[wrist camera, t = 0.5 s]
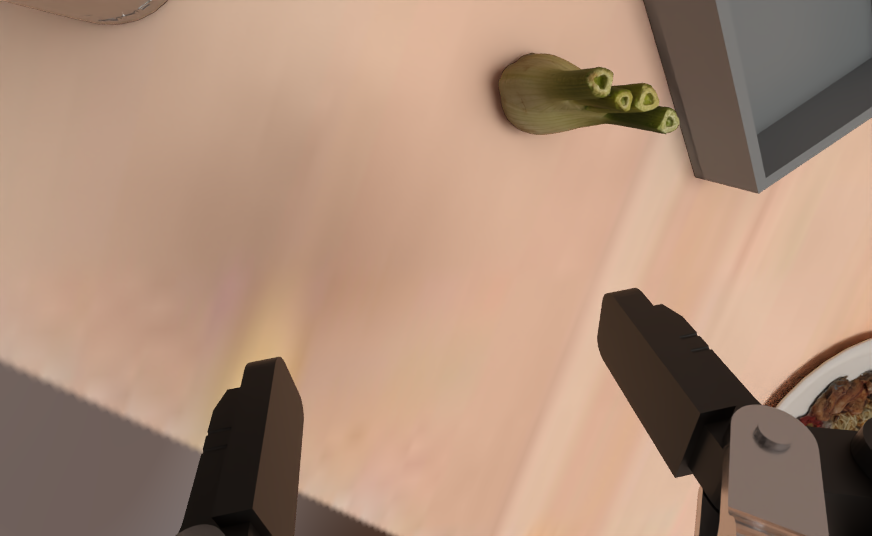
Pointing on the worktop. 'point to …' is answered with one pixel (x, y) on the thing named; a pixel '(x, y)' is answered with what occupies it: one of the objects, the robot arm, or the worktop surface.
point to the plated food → (835, 391)
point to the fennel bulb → (576, 98)
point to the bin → (763, 81)
